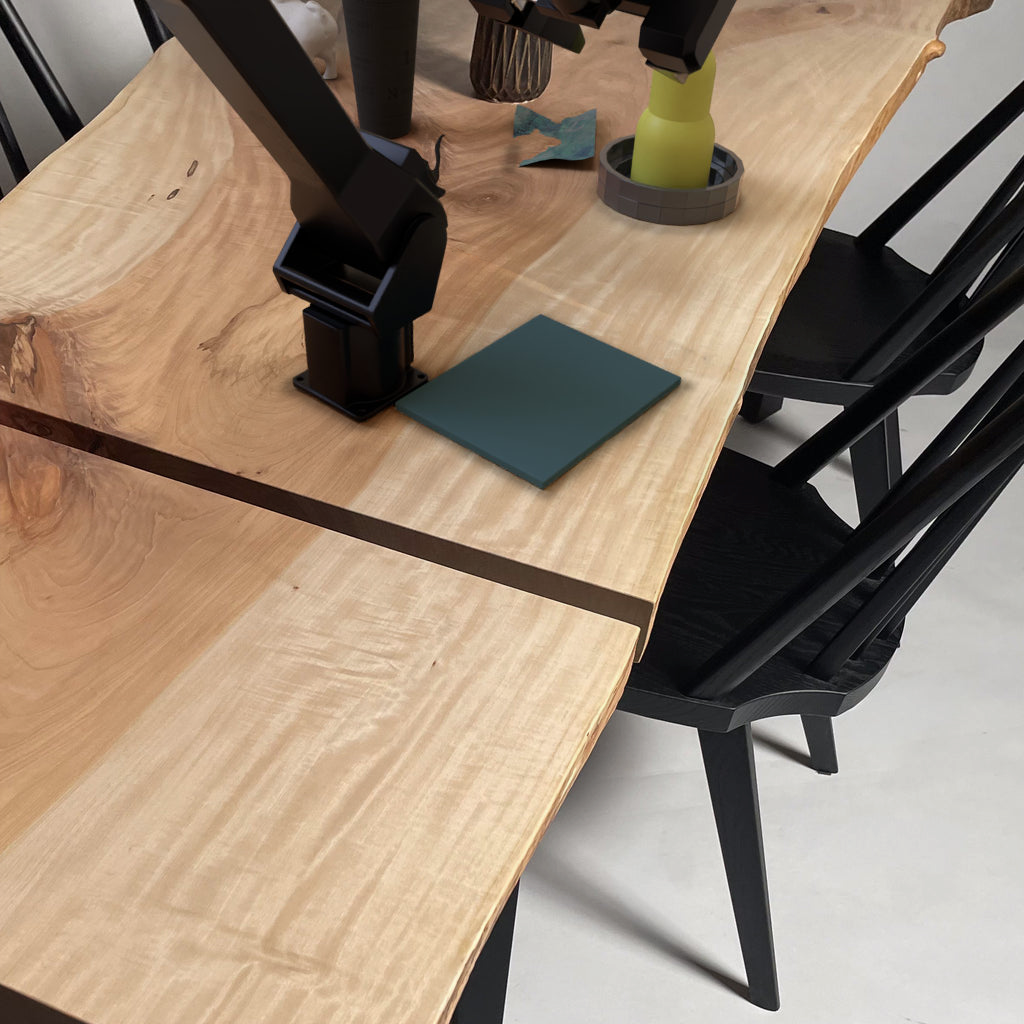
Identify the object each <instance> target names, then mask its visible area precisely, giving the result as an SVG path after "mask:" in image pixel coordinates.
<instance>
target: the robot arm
mask: <svg viewBox="0 0 1024 1024" xmlns="http://www.w3.org/2000/svg"><path fill="white" fill-rule="evenodd" d="M737 1H738V0H468V2H469V4H470V5H471V6H472V8H473V9H474V10H475V12H476V13H477V14H478V15H479V16H482V17H486V18H489V19H493V20H494V21H495V22H496V23H498V24H500V25H504V26H506V27H509V28H511V29H514V30H516V31H519V32H522V33H524V34H527V35H529V36H531V37H534V38H537V39H539V40H541V41H545V42H547V43H549V44H552V45H554V46H557V47H558V48H561V49H564V50H567V51H568V52H571V53H574V54H576V55H580V54H581V53H582V51H583V49H584V47H585V45H586V39H585V35H584V32H583V29H582V27H581V26H585V27H587V28H591V29H595V30H601V27H602V25H603V23H604V21H605V19H606V17H607V16H610V15H612V13H614V12H615V11H616V12H620V13H624V14H627V15H630V16H635V17H639V18H642V21H641V24H640V27H639V35H638V36H639V37H638V43H637V47H638V50H639V52H640V54H641V55H642V57H643V58H645V59H646V60H645V63H644V65H645V66H647V67H648V68H650V69H652V70H653V69H654V70H656V71H657V72H659V73H661V74H663V75H664V76H666V77H668V78H670V79H671V80H673V81H675V82H677V83H680V84H684V83H685V82H686V80H687V78H688V76H689V75H690V74H692V73H694V72H696V71H698V70H700V69H701V68H702V66H703V64H704V62H705V61H706V59H707V57H708V55H709V53H710V51H711V49H712V50H713V47H714V46H715V43H716V42H717V39H718V37H719V35H720V34H721V32H722V30H723V28H724V26H725V24H726V22H727V20H728V18H729V16H730V14H731V13H732V11H733V9H734V7H735V5H736V3H737ZM145 2H146V3H147V4H148V5H149V7H150V8H151V9H152V10H153V12H154V13H155V14H156V16H158V18H159V19H160V20H161V21H162V23H163V24H164V25H165V27H167V29H168V30H169V31H170V33H171V34H172V35H173V36H174V38H175V39H176V41H178V43H179V44H180V45H181V46H182V48H183V50H185V51H186V52H187V54H188V55H189V56H190V58H191V59H192V60H193V61H194V63H196V65H197V66H198V67H199V69H200V70H201V71H202V72H203V74H205V76H206V77H207V79H208V80H209V81H210V82H211V83H212V85H213V86H214V87H215V88H216V90H217V91H218V92H219V93H220V94H221V96H222V97H223V98H224V99H225V101H226V102H227V103H228V104H229V106H230V107H231V108H232V109H233V111H234V112H235V113H236V115H238V117H239V118H240V119H241V120H242V121H243V123H244V124H245V125H246V127H248V130H249V131H251V133H252V134H253V135H254V136H255V138H256V139H257V140H258V141H259V143H260V144H261V145H262V146H263V147H264V149H265V150H266V151H267V152H268V154H269V155H270V156H271V157H272V158H273V160H274V161H275V162H276V164H277V165H278V166H279V167H280V169H281V170H282V171H283V172H284V173H285V175H286V177H287V178H288V180H289V206H290V210H291V212H292V214H293V216H294V218H295V219H296V221H295V223H294V225H293V227H292V229H291V231H290V233H289V234H288V236H287V238H286V240H285V242H284V244H283V245H282V247H281V250H280V252H279V254H278V255H277V258H276V259H275V261H274V263H273V265H272V268H271V269H272V273H273V275H274V277H275V280H276V282H277V284H278V286H279V288H280V290H281V292H282V293H284V294H286V295H288V296H291V295H292V296H294V297H296V298H298V299H300V300H302V301H305V302H307V303H309V305H308V306H307V307H304V308H303V309H302V310H301V311H302V323H303V324H302V325H303V333H304V334H303V335H304V345H305V355H306V367H307V369H306V370H304V371H302V372H300V373H299V374H296V375H295V376H293V377H292V385H293V387H294V388H295V389H297V390H299V391H301V392H303V393H304V394H305V395H308V396H310V397H312V398H313V399H315V400H316V401H319V402H320V403H322V404H324V405H325V406H327V407H329V408H331V409H333V410H335V411H336V412H338V413H340V414H341V415H343V416H345V417H346V418H349V419H351V420H352V421H354V422H356V423H361V424H362V423H367V421H370V420H371V419H373V418H374V417H376V416H377V415H379V414H381V413H383V412H384V411H386V410H388V409H389V408H391V407H392V406H395V402H397V401H398V400H400V399H401V398H403V397H405V396H406V395H408V394H410V393H411V392H413V391H415V390H416V389H418V388H420V387H421V386H423V385H424V384H426V383H428V382H429V381H430V380H429V379H430V377H429V374H428V373H426V372H425V371H422V370H420V369H418V368H417V367H414V366H413V365H412V364H413V363H414V361H415V350H414V348H415V347H414V321H417V320H418V319H419V318H421V317H423V316H425V315H426V314H428V313H430V312H431V311H432V309H433V306H434V301H435V297H436V293H437V288H438V285H439V280H440V275H441V272H442V267H443V264H444V263H443V262H444V258H445V255H446V250H447V246H448V230H447V229H448V227H449V222H448V221H449V220H448V215H447V212H446V210H445V207H444V204H443V203H442V201H441V200H440V199H441V198H442V197H445V196H446V193H447V192H446V191H447V190H446V189H445V188H443V187H440V186H438V184H435V183H434V181H433V180H432V178H431V176H430V174H429V172H428V169H427V166H426V164H425V161H424V160H423V159H424V157H422V156H421V154H420V153H419V152H418V150H417V149H416V148H414V147H411V146H409V145H407V144H406V145H405V144H403V143H400V142H398V141H395V140H393V139H391V138H384V137H381V136H379V135H376V134H373V133H371V132H368V131H365V130H362V129H360V127H357V125H356V124H355V122H354V121H353V119H352V118H351V116H350V115H349V113H348V112H347V110H346V109H345V108H344V106H343V105H342V103H341V102H340V100H339V98H338V97H337V96H336V94H335V92H334V91H333V90H332V88H331V87H330V85H329V84H328V83H327V81H326V79H324V78H323V75H322V73H321V72H320V70H319V69H318V68H317V66H316V65H315V63H314V61H313V62H312V60H311V59H310V57H309V56H308V54H307V53H306V51H305V50H304V48H303V47H302V45H301V44H300V42H299V41H298V39H297V38H296V36H295V35H294V33H293V32H292V30H291V29H290V27H289V26H288V25H287V23H286V22H285V20H284V19H283V17H282V16H281V14H280V13H279V11H278V10H277V8H276V7H275V5H274V4H273V2H272V1H271V0H145Z"/></svg>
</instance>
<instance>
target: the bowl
mask: <svg viewBox="0 0 1024 1024" xmlns="http://www.w3.org/2000/svg"><path fill="white" fill-rule="evenodd" d="M635 134H636V133H633V134H629V135H625V136H621V137H618V138H615V139H613V140H610V141H609V142H607V143H606V144H605V145H604V146H603V147H602V149H601V150H600V151H599V155H598V165H597V166H598V167H597V176H596V177H597V178H596V193H597V195H598V196H599V198H600V199H601V201H602V202H603V204H605V205H607V206H608V207H610V208H611V209H613V210H614V211H615V212H617V213H620V214H622V215H625V216H627V217H630V218H633V219H635V220H641V221H645V222H649V223H654V224H660V225H672V226H689V225H702V224H707V223H711V222H714V221H718V220H722V219H723V218H725V217H726V216H728V215H730V214H732V213H733V212H734V211H735V210H736V208H737V206H738V205H739V202H740V198H741V192H742V189H743V188H742V187H743V182H744V176H745V171H746V169H745V166H744V162H743V160H742V159H741V157H739V156H738V155H737V154H736V153H735V152H734V151H733V150H732V149H729V148H727V147H725V146H724V145H722V144H719V143H718V142H714V148H713V154H712V160H711V166H710V172H709V178H708V184H707V188H694V189H677V188H663V187H658V186H653V185H648V184H643V183H640V182H638V181H635V180H632V179H630V177H631V168H632V160H633V151H634V143H635Z"/></svg>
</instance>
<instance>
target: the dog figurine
mask: <svg viewBox="0 0 1024 1024" xmlns="http://www.w3.org/2000/svg"><path fill="white" fill-rule="evenodd" d="M271 1H272V2H273V4H274V5H275V7H276V8H277V10H278V11H279V13H280V14H281V16H282V17H283V19H284V20H285V22H286V23H287V25H288V26H289V27H290V29H291V30H292V32H293V33H294V35H295V36H296V38H297V39H298V41H299V42H300V44H301V45H302V47H303V48H304V50H305V51H306V53H307V54H308V56H309V57H310V59H311V60H312V62H313V63H314V60H315V58H317V59H320V60H322V61H323V62H324V63H325V66H326V67H325V72H324V73H323V75H322V76H323V78H324V79H325V80H334V79H336V78H337V77H338V72H337V71H338V69H337V52H338V51H337V40H338V35H339V27H338V24H337V22H336V19H335V17H333V16H332V15H331V14H330V12H329V10H327V9H325V8H323V7H322V6H321V4H320V3H319V2H317V1H315V0H308V1H307V2H306V3H305V2H304V1H301V0H271Z"/></svg>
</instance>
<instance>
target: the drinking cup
mask: <svg viewBox="0 0 1024 1024" xmlns="http://www.w3.org/2000/svg"><path fill="white" fill-rule="evenodd" d="M420 2H421V0H341V4H342V5H341V6H342V11H343V18H344V26H345V33H346V40H347V47H348V55H349V60H350V61H349V62H350V68H351V74H352V76H351V77H352V82H353V83H352V84H353V89H354V90H353V91H354V97H355V103H356V111H357V116H358V118H357V119H358V125H359V128H360V129H362V130H365V131H368V132H371V133H373V134H376V135H379V136H381V137H384V138H387V139H397V138H401V137H404V136H406V135H407V134H409V133H410V132H411V130H412V116H413V103H414V101H413V100H414V90H415V89H414V88H415V87H414V85H415V74H416V73H415V72H416V57H417V46H418V45H417V43H418V30H419V17H420V15H419V13H420Z"/></svg>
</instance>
